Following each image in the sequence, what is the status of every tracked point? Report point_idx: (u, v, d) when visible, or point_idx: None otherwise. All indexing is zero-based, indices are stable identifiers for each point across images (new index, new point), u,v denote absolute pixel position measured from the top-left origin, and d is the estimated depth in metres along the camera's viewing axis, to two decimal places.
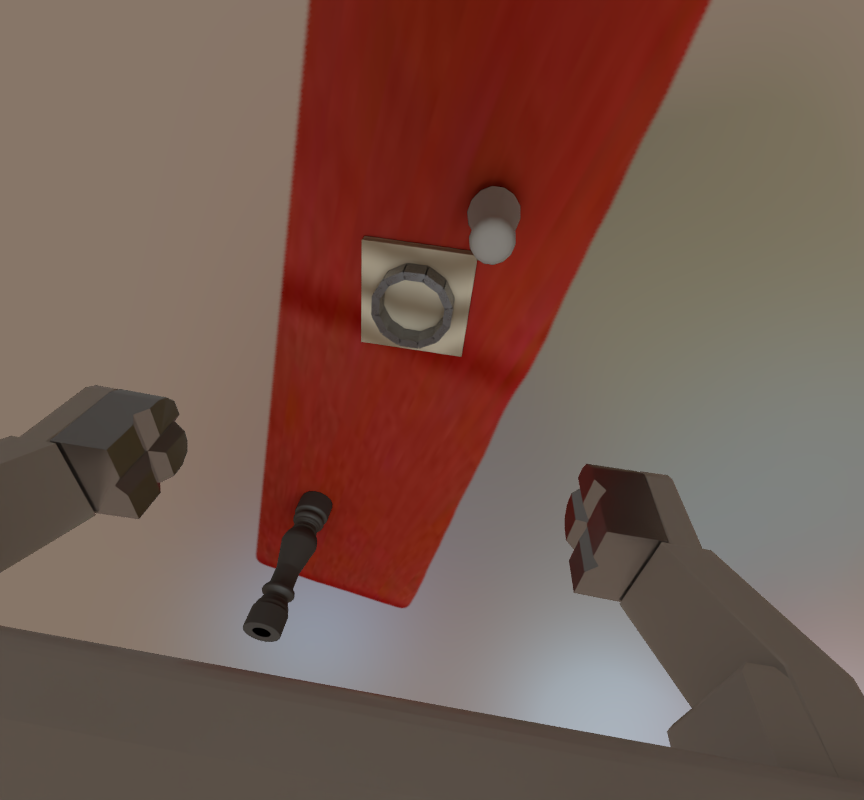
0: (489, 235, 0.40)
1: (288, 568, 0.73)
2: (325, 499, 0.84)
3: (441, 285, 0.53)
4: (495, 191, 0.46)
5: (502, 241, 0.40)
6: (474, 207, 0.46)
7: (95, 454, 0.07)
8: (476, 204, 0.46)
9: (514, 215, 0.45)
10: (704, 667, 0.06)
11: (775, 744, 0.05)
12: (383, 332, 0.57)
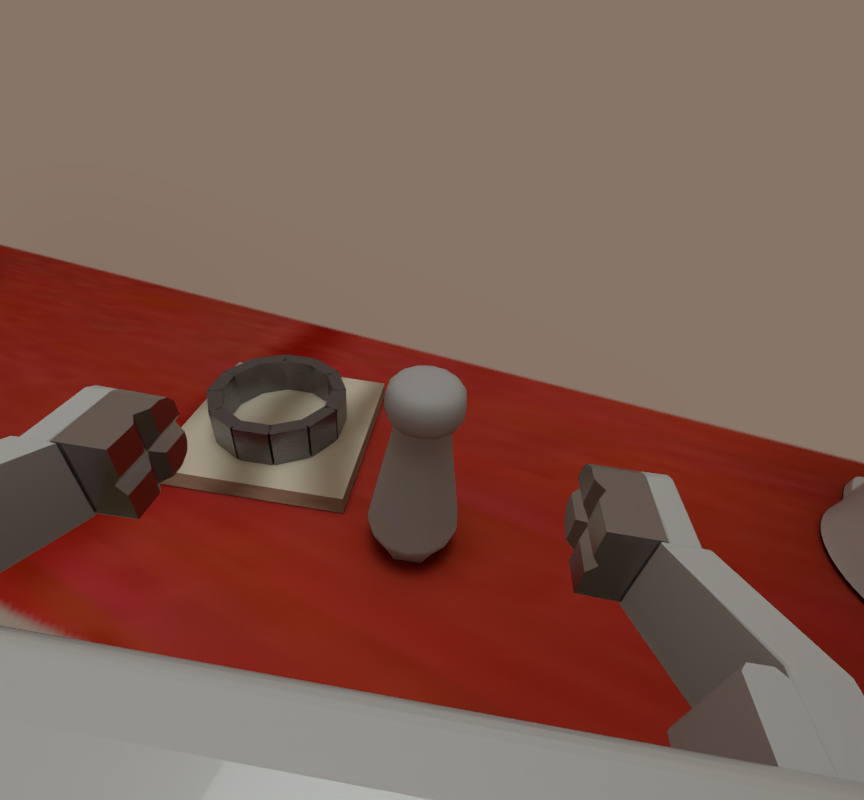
0: (443, 379, 0.23)
1: None
2: None
3: (312, 427, 0.32)
4: (456, 503, 0.28)
5: (433, 392, 0.22)
6: None
7: (95, 453, 0.07)
8: None
9: (431, 504, 0.25)
10: (704, 667, 0.06)
11: (775, 744, 0.05)
12: (254, 361, 0.37)
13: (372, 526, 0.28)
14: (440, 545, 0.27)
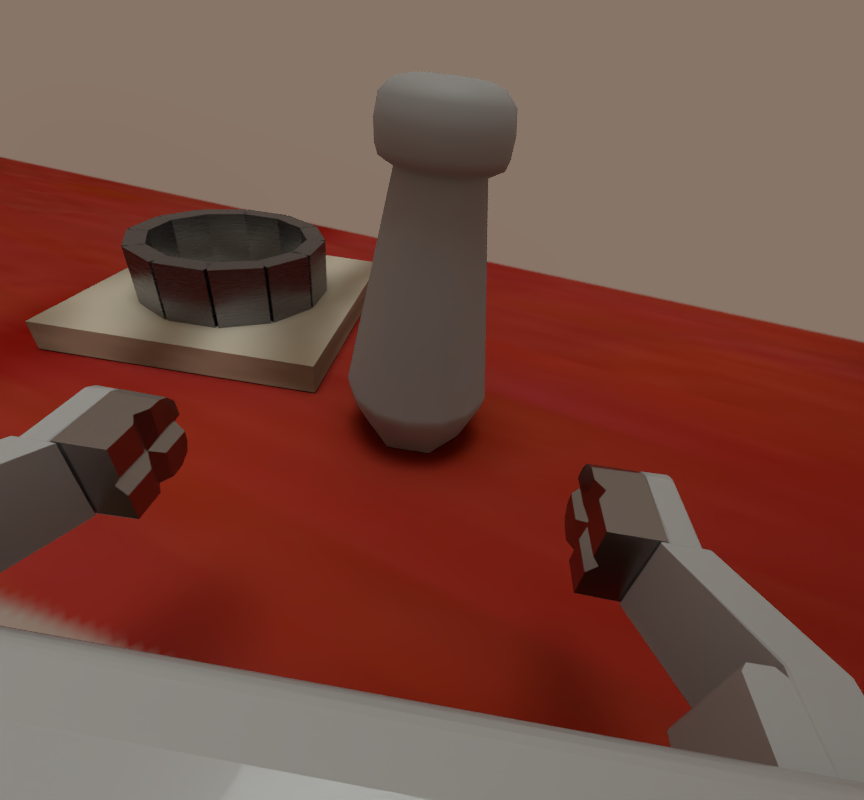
0: (477, 79, 0.13)
1: None
2: None
3: (273, 271, 0.22)
4: None
5: (461, 79, 0.12)
6: None
7: (95, 453, 0.07)
8: None
9: (450, 329, 0.15)
10: (704, 667, 0.06)
11: (775, 744, 0.05)
12: (202, 211, 0.27)
13: (355, 387, 0.18)
14: (461, 415, 0.17)
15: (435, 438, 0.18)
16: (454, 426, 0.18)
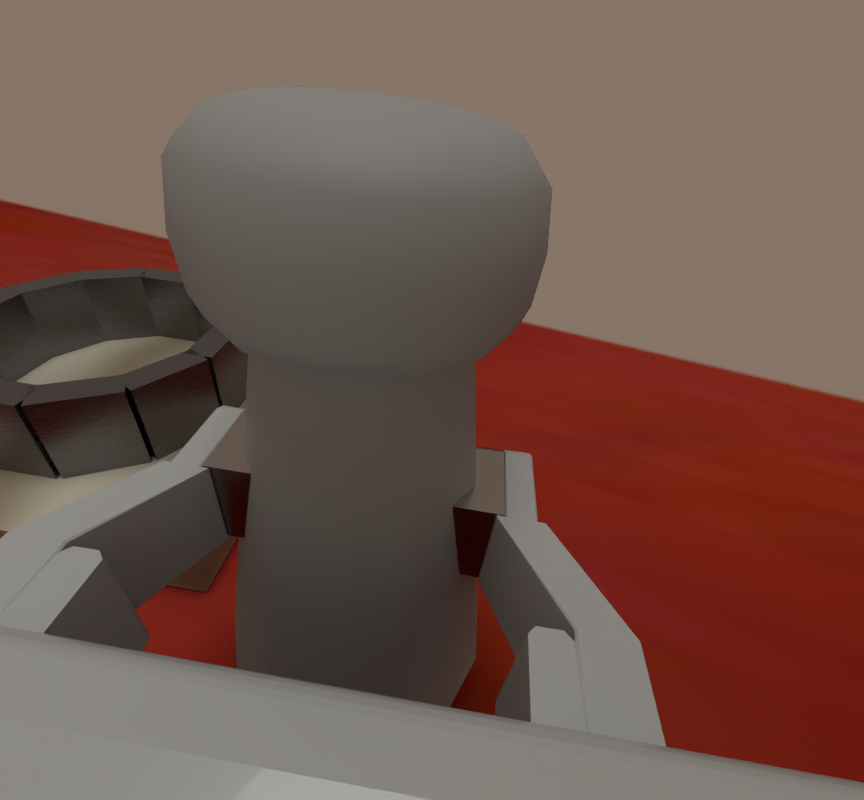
0: None
1: None
2: None
3: (144, 393, 0.14)
4: None
5: (389, 111, 0.04)
6: None
7: (247, 478, 0.07)
8: None
9: (400, 628, 0.07)
10: None
11: (536, 701, 0.05)
12: (79, 275, 0.19)
13: (236, 661, 0.10)
14: None
15: None
16: None
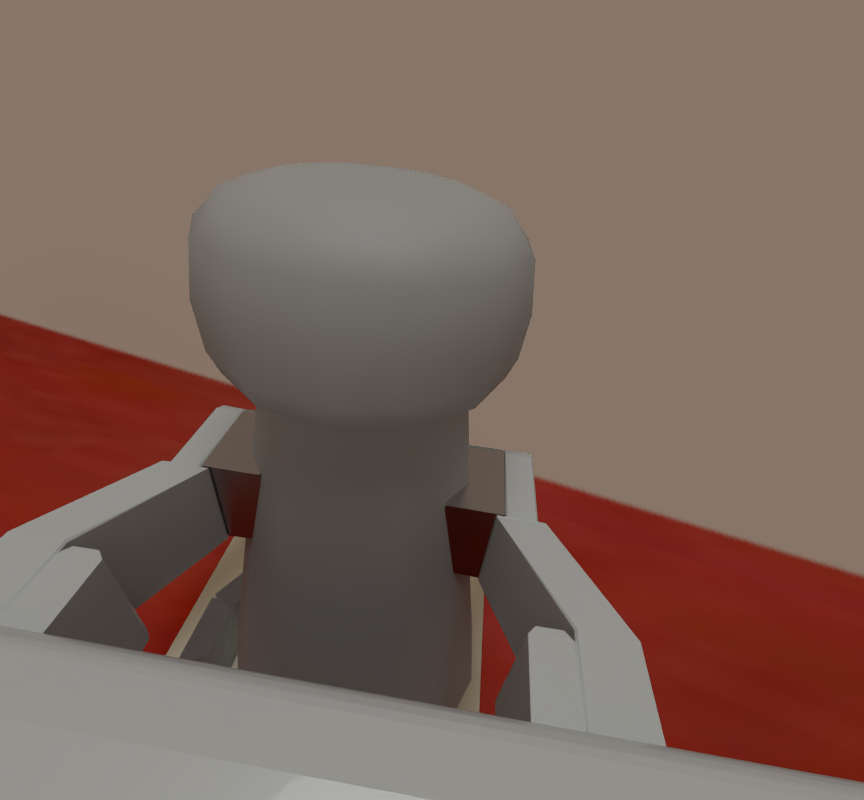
0: (438, 182, 0.06)
1: None
2: None
3: None
4: None
5: (390, 200, 0.05)
6: None
7: (246, 478, 0.07)
8: None
9: (398, 653, 0.08)
10: None
11: (536, 701, 0.05)
12: None
13: None
14: None
15: None
16: None
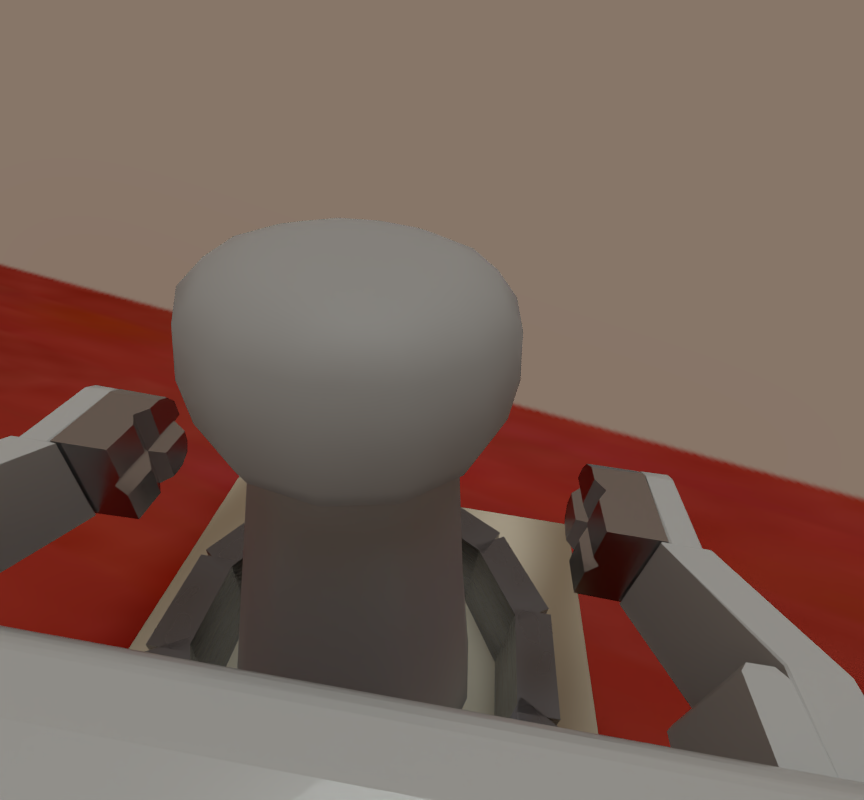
0: (425, 246, 0.05)
1: None
2: None
3: None
4: (465, 633, 0.11)
5: (374, 284, 0.04)
6: None
7: (95, 453, 0.07)
8: None
9: (393, 690, 0.08)
10: (704, 667, 0.06)
11: (775, 744, 0.05)
12: None
13: None
14: None
15: None
16: None
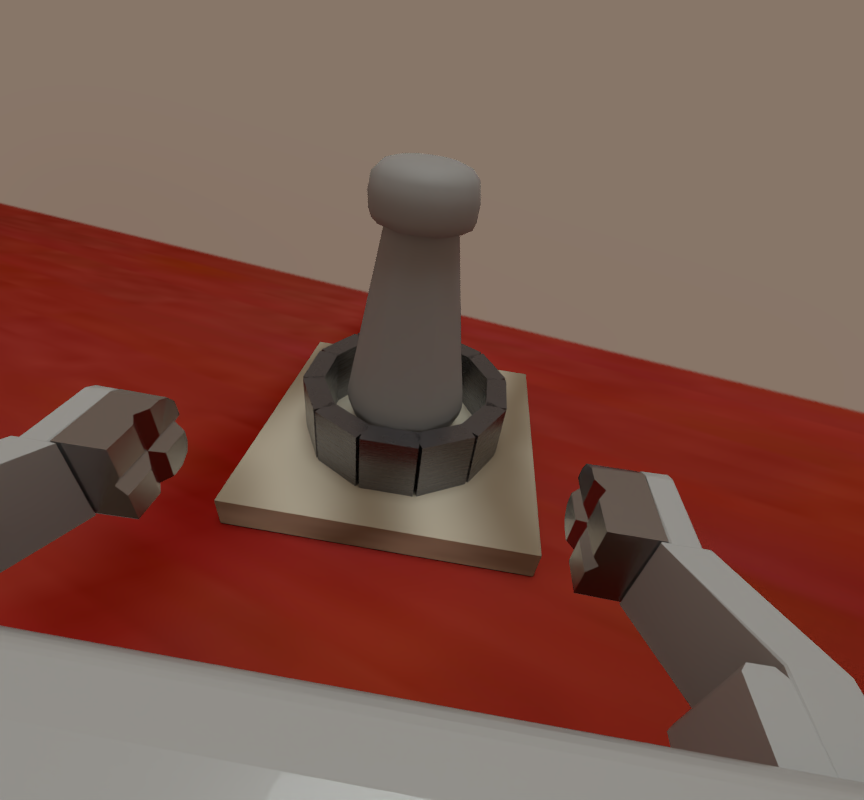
0: (449, 160, 0.17)
1: None
2: None
3: (480, 437, 0.20)
4: (461, 373, 0.22)
5: (436, 164, 0.16)
6: None
7: (95, 453, 0.07)
8: None
9: (431, 353, 0.19)
10: (704, 667, 0.06)
11: (774, 744, 0.05)
12: None
13: (353, 399, 0.21)
14: (442, 422, 0.21)
15: None
16: None
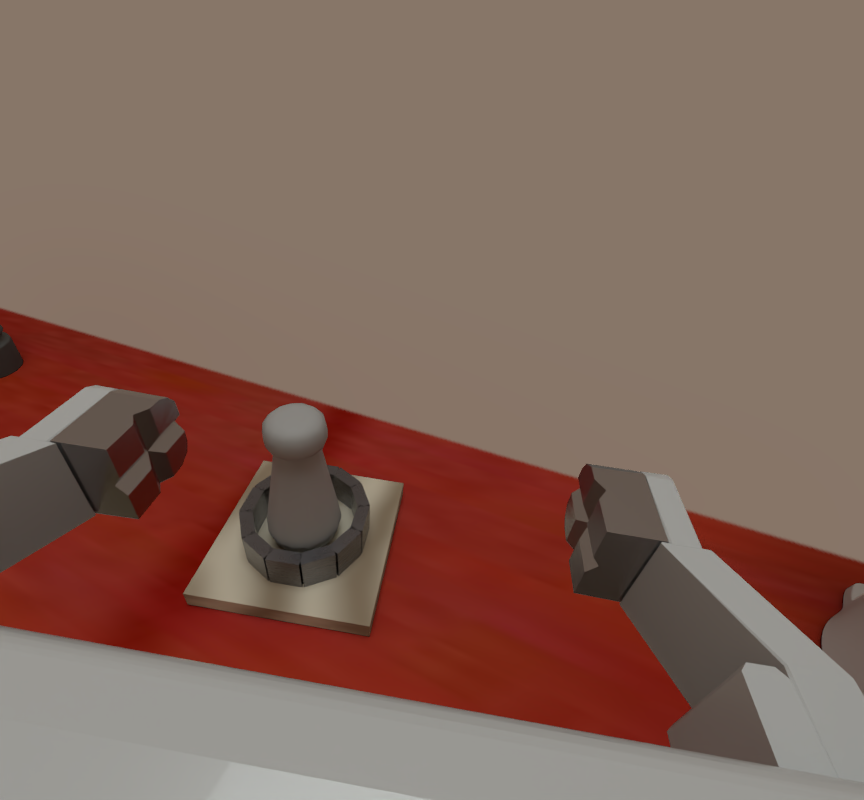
0: (306, 414, 0.30)
1: None
2: None
3: (340, 553, 0.34)
4: (336, 507, 0.36)
5: (294, 426, 0.29)
6: None
7: (95, 454, 0.07)
8: None
9: (307, 508, 0.33)
10: (704, 667, 0.06)
11: (775, 744, 0.05)
12: None
13: (268, 526, 0.35)
14: (321, 541, 0.35)
15: None
16: (319, 545, 0.35)
